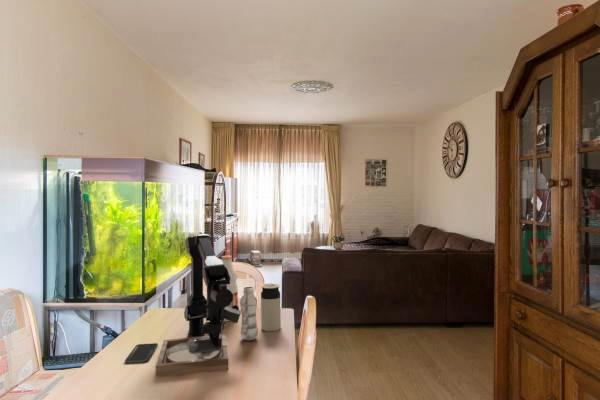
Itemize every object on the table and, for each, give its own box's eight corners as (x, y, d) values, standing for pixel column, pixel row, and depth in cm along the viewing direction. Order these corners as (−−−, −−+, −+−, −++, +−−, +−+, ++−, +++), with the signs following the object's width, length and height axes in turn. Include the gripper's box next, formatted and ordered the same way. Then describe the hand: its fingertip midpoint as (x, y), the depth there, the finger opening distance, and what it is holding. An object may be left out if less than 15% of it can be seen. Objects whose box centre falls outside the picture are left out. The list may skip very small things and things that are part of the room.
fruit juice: (212, 318, 178) (211, 256, 177) (230, 313, 184) (229, 253, 183) (224, 323, 171) (223, 258, 170) (242, 318, 177) (241, 256, 177)
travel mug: (273, 333, 158) (272, 288, 158) (257, 329, 162) (256, 286, 162) (284, 327, 165) (283, 284, 165) (269, 323, 169) (268, 282, 169)
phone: (123, 361, 131) (136, 344, 146) (123, 365, 131) (136, 347, 146) (148, 360, 132) (158, 343, 147) (148, 363, 132) (158, 346, 147)
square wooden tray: (163, 349, 143) (163, 339, 143) (225, 343, 148) (225, 333, 148) (156, 377, 121) (155, 365, 121) (228, 369, 126) (228, 357, 126)
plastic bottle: (255, 343, 148) (254, 290, 147) (237, 342, 149) (237, 289, 149) (260, 336, 154) (259, 286, 154) (243, 335, 156) (242, 285, 155)
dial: (163, 368, 124) (163, 353, 124) (168, 347, 141) (168, 333, 141) (222, 362, 128) (222, 346, 128) (219, 341, 145) (219, 328, 145)
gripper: (236, 306, 125) (237, 356, 125) (241, 293, 144) (242, 336, 144) (200, 308, 125) (201, 357, 125) (211, 294, 143) (211, 337, 143)
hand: (216, 346), depth 134 cm, fingers closed
